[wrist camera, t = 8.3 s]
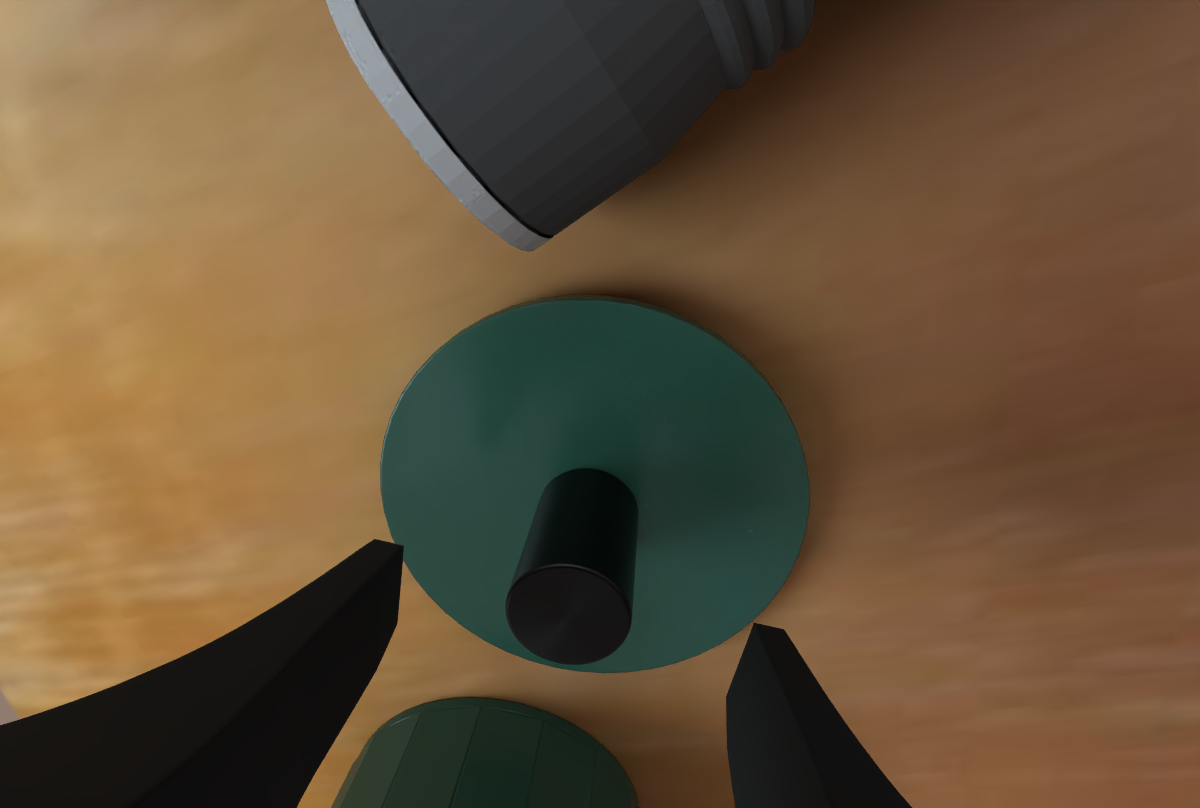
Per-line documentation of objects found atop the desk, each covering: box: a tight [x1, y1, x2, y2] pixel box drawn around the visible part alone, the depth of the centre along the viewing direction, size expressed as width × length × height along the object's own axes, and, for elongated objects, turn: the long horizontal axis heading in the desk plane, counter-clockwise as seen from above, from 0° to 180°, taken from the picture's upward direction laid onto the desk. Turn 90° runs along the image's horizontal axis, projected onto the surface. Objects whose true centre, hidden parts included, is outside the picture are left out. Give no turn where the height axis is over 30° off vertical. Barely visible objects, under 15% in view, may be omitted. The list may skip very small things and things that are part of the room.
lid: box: [380, 295, 809, 673], centre depth 15 cm, size 11×11×5 cm
